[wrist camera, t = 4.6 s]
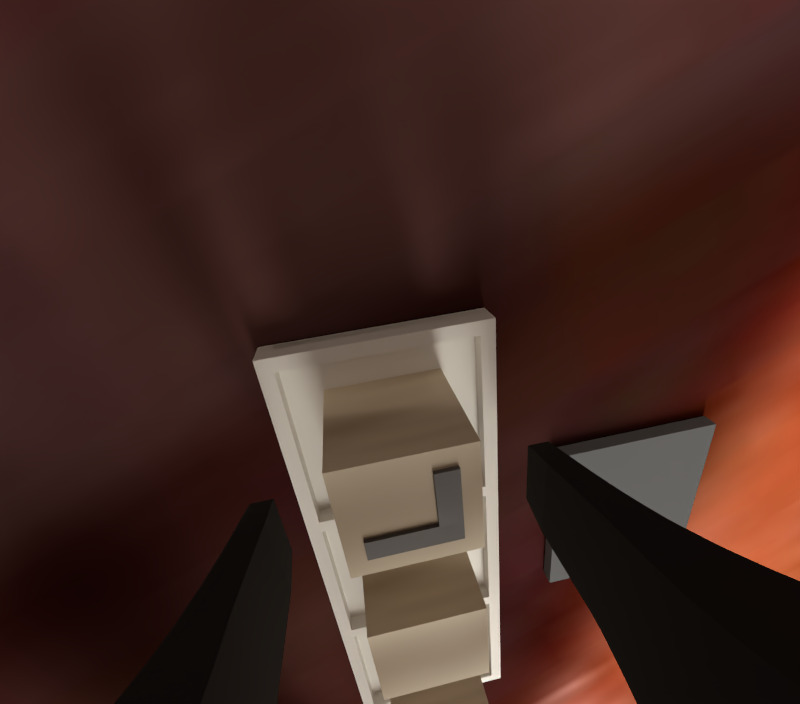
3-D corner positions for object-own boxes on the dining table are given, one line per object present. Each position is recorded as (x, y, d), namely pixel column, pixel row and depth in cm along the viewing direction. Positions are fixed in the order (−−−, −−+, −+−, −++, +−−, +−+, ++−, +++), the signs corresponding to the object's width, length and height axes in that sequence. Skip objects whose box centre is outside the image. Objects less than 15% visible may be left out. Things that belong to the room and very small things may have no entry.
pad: (670, 540, 21) (679, 550, 20) (543, 571, 20) (549, 582, 20) (704, 416, 17) (716, 424, 17) (551, 448, 17) (559, 457, 16)
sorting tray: (493, 657, 23) (500, 677, 22) (365, 691, 22) (366, 713, 21) (484, 307, 13) (495, 317, 12) (257, 347, 13) (252, 361, 12)
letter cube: (451, 457, 15) (490, 550, 12) (345, 479, 15) (351, 582, 11) (444, 367, 14) (487, 443, 10) (323, 389, 13) (321, 477, 9)
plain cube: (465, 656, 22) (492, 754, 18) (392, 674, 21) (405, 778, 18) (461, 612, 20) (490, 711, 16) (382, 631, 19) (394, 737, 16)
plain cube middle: (458, 573, 18) (489, 672, 15) (373, 594, 18) (384, 700, 14) (453, 513, 17) (486, 608, 13) (358, 534, 16) (367, 637, 13)
